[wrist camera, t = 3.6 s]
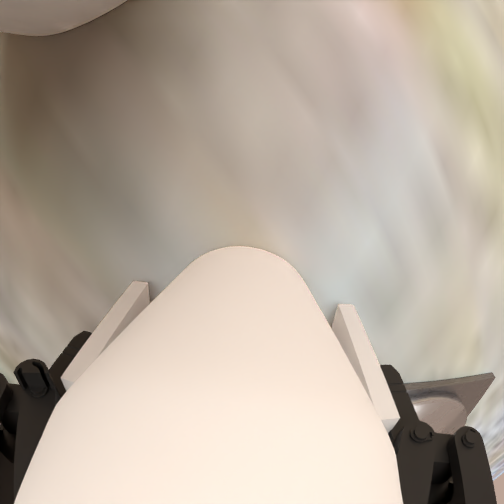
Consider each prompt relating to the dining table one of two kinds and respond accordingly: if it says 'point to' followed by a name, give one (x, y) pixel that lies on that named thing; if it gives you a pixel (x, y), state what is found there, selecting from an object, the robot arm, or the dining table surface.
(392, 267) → the dining table surface
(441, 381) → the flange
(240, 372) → the cup
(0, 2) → the utensil holder
